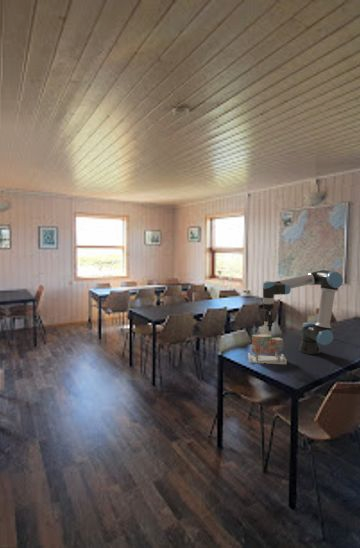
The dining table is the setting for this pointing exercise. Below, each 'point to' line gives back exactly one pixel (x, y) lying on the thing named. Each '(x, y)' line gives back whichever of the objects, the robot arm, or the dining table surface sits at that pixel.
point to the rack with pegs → (267, 359)
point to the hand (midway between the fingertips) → (267, 332)
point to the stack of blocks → (266, 344)
